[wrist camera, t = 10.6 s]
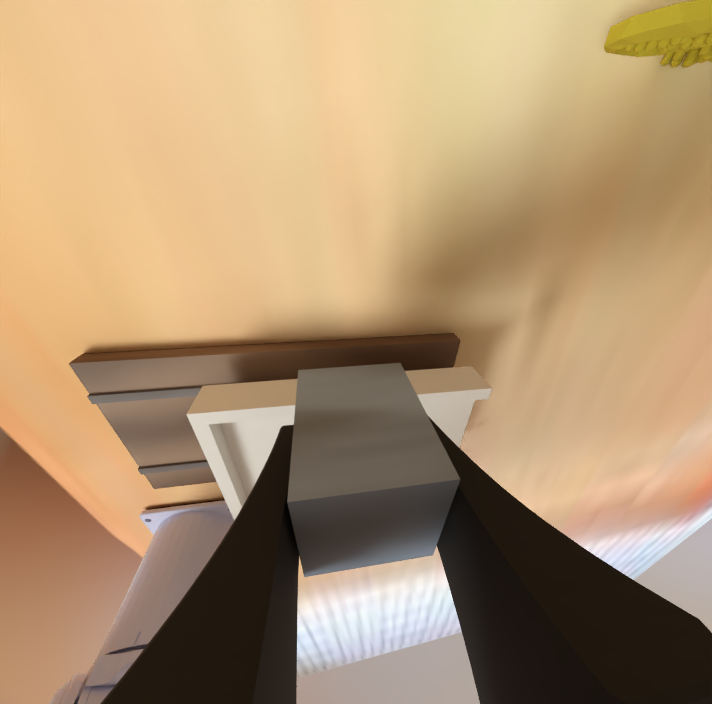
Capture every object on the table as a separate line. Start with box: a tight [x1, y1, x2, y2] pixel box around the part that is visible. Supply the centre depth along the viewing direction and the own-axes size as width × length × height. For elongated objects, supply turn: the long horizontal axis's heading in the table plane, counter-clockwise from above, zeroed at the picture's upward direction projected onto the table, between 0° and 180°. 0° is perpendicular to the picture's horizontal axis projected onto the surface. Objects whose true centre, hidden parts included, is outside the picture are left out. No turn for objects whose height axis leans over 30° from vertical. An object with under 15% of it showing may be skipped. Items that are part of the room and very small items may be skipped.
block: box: [287, 363, 460, 577], centre depth 9 cm, size 4×4×5 cm
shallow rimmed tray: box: [186, 366, 492, 520], centre depth 18 cm, size 10×16×3 cm, turn 89°
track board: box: [69, 333, 460, 489], centre depth 19 cm, size 12×23×1 cm, turn 89°
